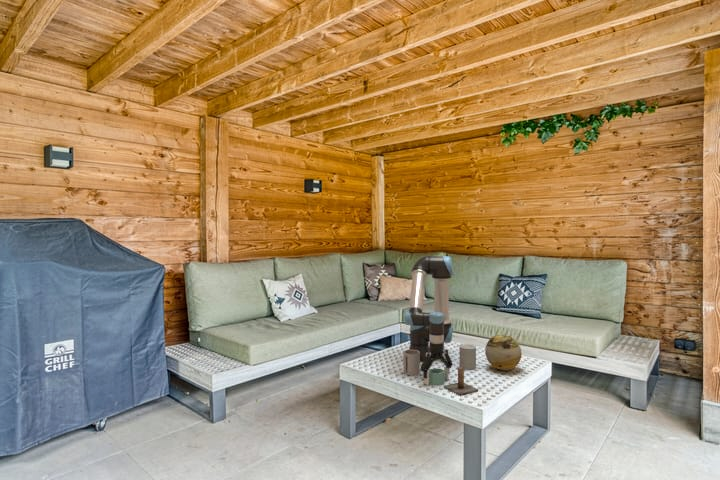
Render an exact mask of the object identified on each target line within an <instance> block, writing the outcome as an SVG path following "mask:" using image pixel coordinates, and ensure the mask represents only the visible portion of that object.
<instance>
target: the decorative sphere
mask: <svg viewBox="0 0 720 480" xmlns="http://www.w3.org/2000/svg"><path fill="white" fill-rule="evenodd" d="M484 353H485V357H486V360H487V361H488V363H489V364H490V365H491V366H492V367H493V368H495V369H496V370H497V369H498V370H501V371H510V370H513V369H514V368H516V367H517V366H518V365H519V363H520V361H521V359H522V355H523V354H522V348H521V346H520V344H519V343H518V341H517V340H516V339H515V338H513V337H512V336H511V335H510V336H509V335H508V334H496V335H494V336H492V337H491V338H489V340H488V341H487V342H486V344H485V349H484Z"/></svg>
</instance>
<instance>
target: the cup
mask: <svg viewBox="0 0 720 480" xmlns="http://www.w3.org/2000/svg"><path fill="white" fill-rule="evenodd" d="M420 368H421V361H420V352H419V351H417V350H409V349H406V350H403V374H404V375H405V374H406V375H405V376H408V375H410V376H409V377H415V375H417V376H419V375H420V374H421V371H420ZM411 375H412V376H411Z"/></svg>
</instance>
